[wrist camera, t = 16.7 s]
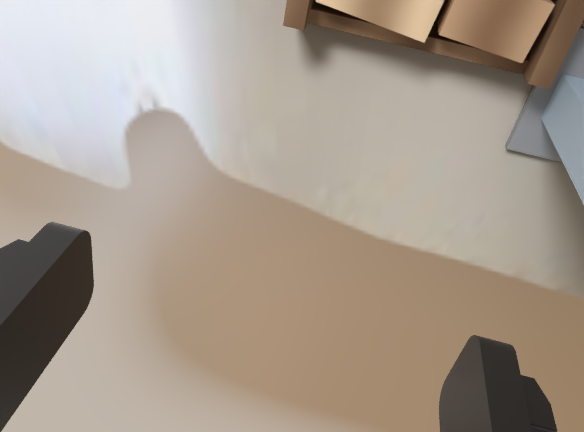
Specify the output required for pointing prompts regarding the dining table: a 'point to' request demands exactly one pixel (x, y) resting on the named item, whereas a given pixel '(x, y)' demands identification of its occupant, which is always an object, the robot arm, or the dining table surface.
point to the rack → (536, 66)
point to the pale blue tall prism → (568, 127)
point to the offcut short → (495, 24)
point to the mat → (529, 125)
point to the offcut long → (393, 14)
